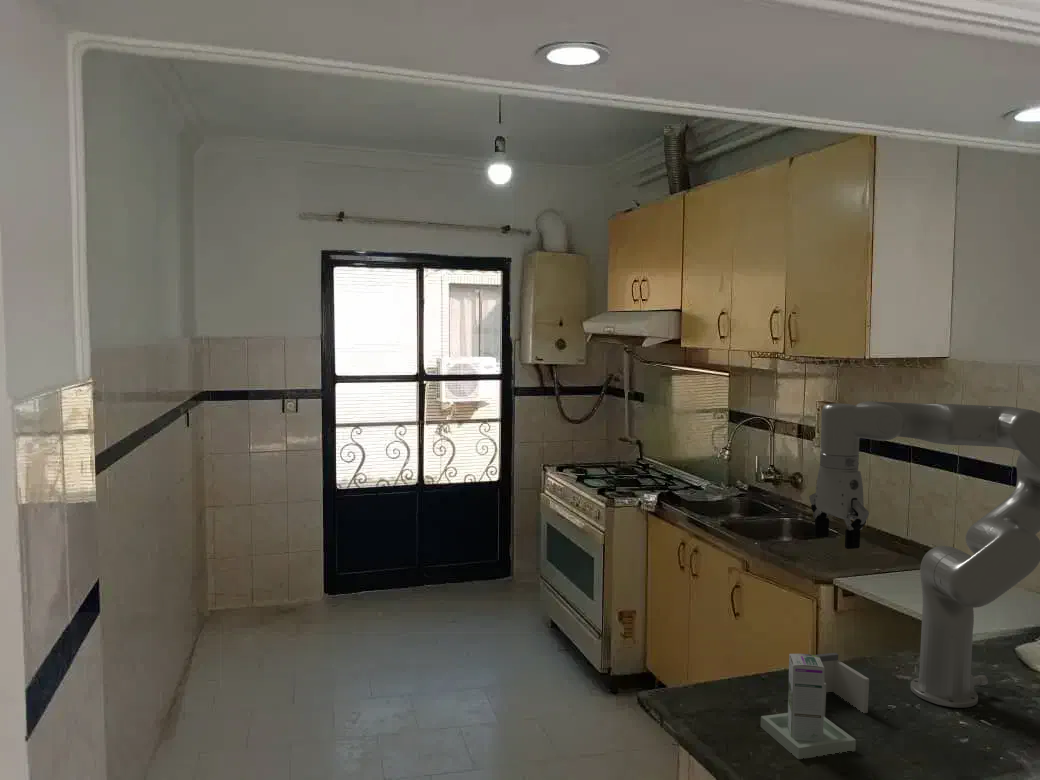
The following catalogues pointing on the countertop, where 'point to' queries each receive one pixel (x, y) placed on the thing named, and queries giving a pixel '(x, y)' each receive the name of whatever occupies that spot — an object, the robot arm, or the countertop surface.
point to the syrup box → (806, 697)
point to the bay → (845, 682)
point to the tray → (831, 743)
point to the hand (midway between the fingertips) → (836, 542)
